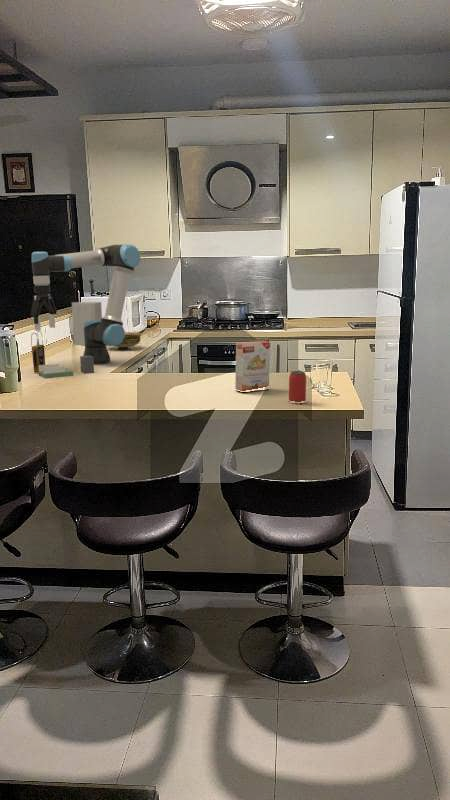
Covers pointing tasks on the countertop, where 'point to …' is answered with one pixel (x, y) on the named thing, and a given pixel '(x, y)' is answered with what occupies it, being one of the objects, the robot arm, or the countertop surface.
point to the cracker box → (252, 365)
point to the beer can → (297, 386)
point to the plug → (87, 364)
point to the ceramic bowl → (129, 340)
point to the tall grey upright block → (84, 318)
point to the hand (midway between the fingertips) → (45, 329)
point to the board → (53, 371)
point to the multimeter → (38, 355)
